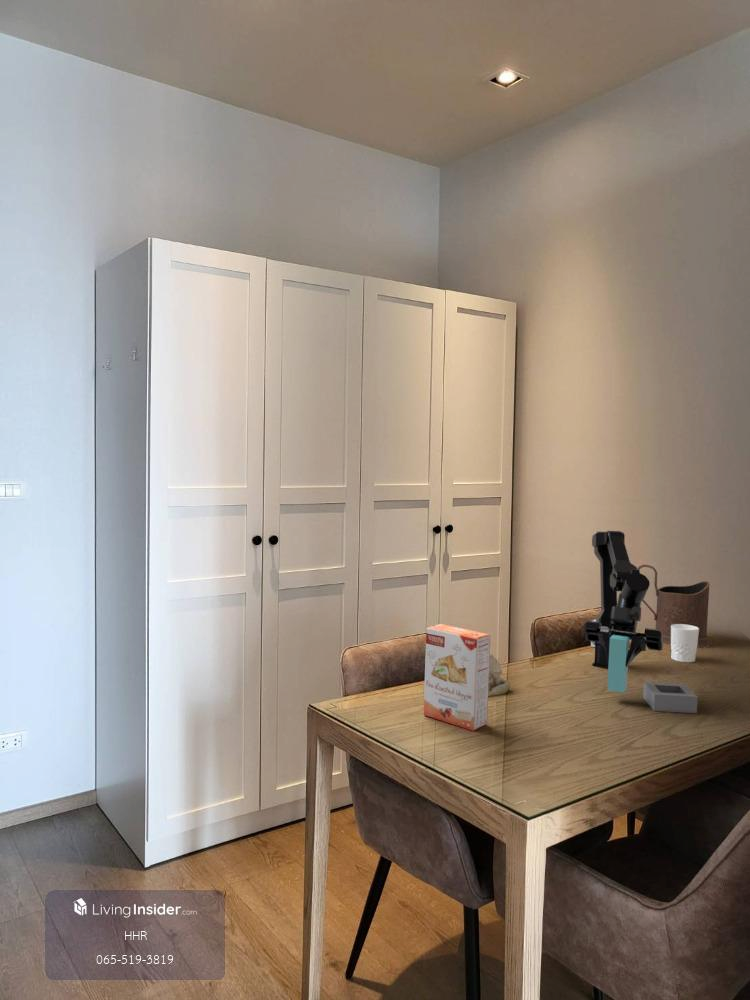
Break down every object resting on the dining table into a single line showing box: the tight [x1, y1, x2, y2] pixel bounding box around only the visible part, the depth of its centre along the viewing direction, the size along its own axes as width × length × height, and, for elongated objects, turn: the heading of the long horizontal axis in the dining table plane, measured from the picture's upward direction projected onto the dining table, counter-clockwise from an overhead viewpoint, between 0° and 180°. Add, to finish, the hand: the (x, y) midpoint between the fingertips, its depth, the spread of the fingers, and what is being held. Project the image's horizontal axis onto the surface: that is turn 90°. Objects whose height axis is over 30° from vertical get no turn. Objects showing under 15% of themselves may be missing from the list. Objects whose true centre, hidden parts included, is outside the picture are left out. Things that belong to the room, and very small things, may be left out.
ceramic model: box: [488, 653, 510, 697], centre depth 197 cm, size 14×11×10 cm
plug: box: [606, 635, 630, 694], centre depth 190 cm, size 4×4×13 cm
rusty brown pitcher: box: [637, 564, 711, 649], centre depth 255 cm, size 18×24×25 cm
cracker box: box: [423, 623, 491, 732], centre depth 174 cm, size 14×6×21 cm, turn 49°
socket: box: [642, 681, 698, 714], centre depth 189 cm, size 10×10×4 cm
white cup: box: [670, 624, 699, 663], centre depth 232 cm, size 8×8×10 cm
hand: (617, 664), depth 189 cm, fingers closed on plug, 4 cm apart
